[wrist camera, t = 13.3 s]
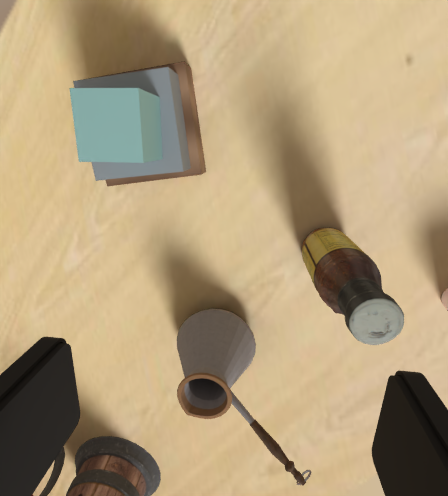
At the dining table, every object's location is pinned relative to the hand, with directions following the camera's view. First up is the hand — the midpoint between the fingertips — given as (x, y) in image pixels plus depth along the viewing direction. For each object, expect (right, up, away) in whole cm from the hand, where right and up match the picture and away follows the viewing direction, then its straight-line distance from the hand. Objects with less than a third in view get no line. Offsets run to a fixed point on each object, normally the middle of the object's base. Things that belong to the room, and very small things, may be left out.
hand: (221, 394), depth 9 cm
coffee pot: (+3, -12, +40) cm, 42 cm away
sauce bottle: (+14, +5, +33) cm, 36 cm away
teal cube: (-9, +17, +24) cm, 31 cm away
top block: (-9, +18, +28) cm, 35 cm away
